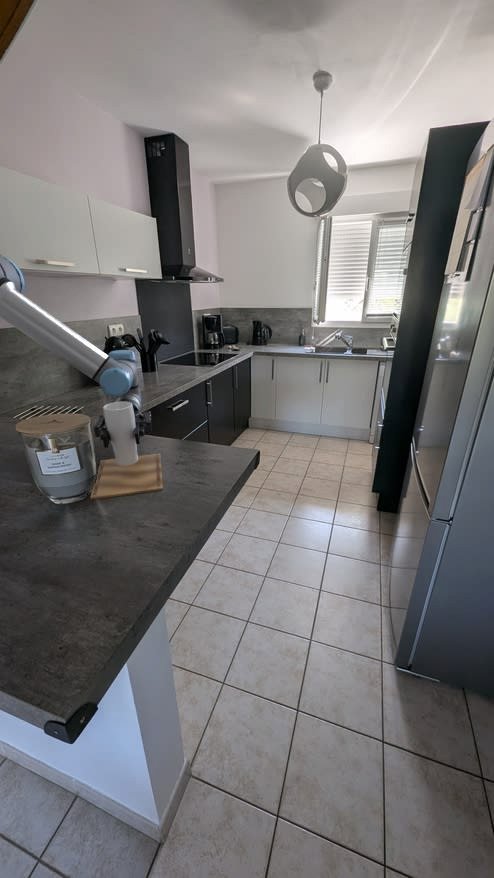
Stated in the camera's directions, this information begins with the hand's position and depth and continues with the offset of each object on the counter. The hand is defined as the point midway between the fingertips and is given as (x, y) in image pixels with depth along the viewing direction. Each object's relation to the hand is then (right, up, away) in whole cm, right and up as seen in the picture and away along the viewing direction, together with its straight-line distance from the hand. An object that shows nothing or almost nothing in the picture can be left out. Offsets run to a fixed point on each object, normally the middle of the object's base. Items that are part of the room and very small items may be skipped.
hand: (121, 440), depth 82 cm
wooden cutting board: (-1, -9, +9) cm, 13 cm away
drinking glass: (-1, -6, +8) cm, 10 cm away
